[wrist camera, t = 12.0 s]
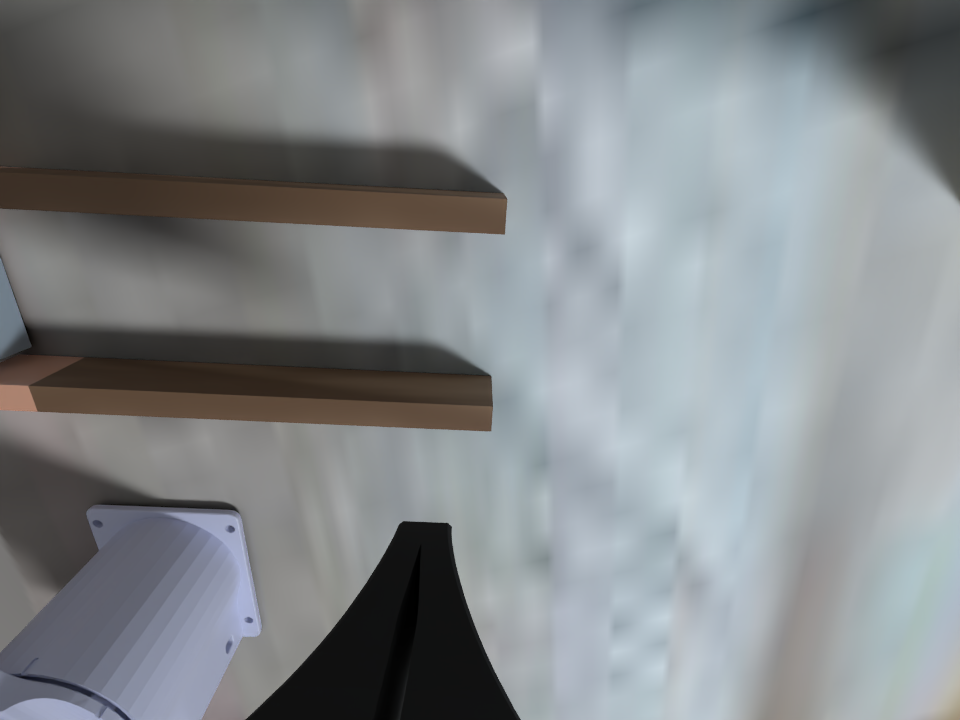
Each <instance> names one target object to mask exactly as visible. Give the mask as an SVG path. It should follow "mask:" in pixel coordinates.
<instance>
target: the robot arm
mask: <svg viewBox="0 0 960 720" xmlns="http://www.w3.org/2000/svg"><path fill="white" fill-rule="evenodd" d="M86 516H87V519H88V521H89V524H90V527H91V530H92V533H93V535H94V538H95V541H96V544H97V547H98V550H99V551H98V552H97V553H96V555H95V556H94V557H93V558H92V559H91V560H90V561H89V562H88V563H87V564H86V565H85V566H84V567H83V568H82V569H81V570H80V571H79V572H78V573H77V574H76V575H75V576H74V577H73V578H72V579H71V580H70V581H69V582H68V583H67V584H66V585H65V586H64V587H63V588H62V590H61V591H60V592H59V593H58V594H57V595H56V596H55V597H54V598H53V599H52V600H51V601H50V602H49V603H48V604H47V605H46V606H45V607H44V608H43V609H42V610H41V611H40V612H39V613H38V614H37V615H36V616H35V617H34V618H33V619H32V620H31V621H30V622H29V623H28V625H27V626H26V627H25V628H24V629H23V630H22V631H21V632H20V633H19V634H18V635H17V636H16V637H15V638H14V639H13V640H12V641H11V642H10V643H9V644H8V645H7V646H6V647H5V648H4V649H3V650H2V651H1V652H0V720H201V719H202V717H203V715H204V713H205V711H206V709H207V707H208V705H209V703H210V701H211V699H212V697H213V695H214V693H215V691H216V689H217V687H218V685H219V683H220V681H221V679H222V677H223V675H224V673H225V671H226V669H227V667H228V665H229V663H230V661H231V659H232V657H233V655H234V653H235V651H236V649H237V647H238V645H239V643H240V641H241V639H242V637H256V636H258V635H259V634H260V632H261V630H262V624H261V619H260V614H259V609H258V604H257V598H256V593H255V588H254V583H253V577H252V572H251V567H250V562H249V556H248V551H247V546H246V541H245V536H244V530H243V525H242V520H241V516H240V514H239V513H238V512H236V511H234V510H221V509H196V508H171V507H146V506H121V505H93V506H92V507H91V508H89V509H88V510H87V512H86ZM231 526H233V527H231ZM451 532H452V527H451V526H450V525H449V524H448V523H432V522H407V521H403V522H402V523H400V524H399V526H398V528H397V531H396V533H395V535H394V537H393V539H392V541H391V543H390V545H389V546H388V548H387V550H386V552H385V554H384V555H383V557H382V559H381V561H380V562H379V564H378V565H377V567H376V569H375V570H374V572H373V573H372V575H371V576H370V578H369V580H368V581H367V583H366V584H365V586H364V587H363V589H362V590H361V591H360V593H359V594H358V596H357V597H356V598H355V600H354V601H353V603H352V604H351V605H350V607H349V608H348V610H347V611H346V612H345V614H344V615H343V616H342V618H341V619H340V620H339V622H338V623H337V624H336V625H335V627H334V628H333V629H332V630H331V632H330V633H329V634H328V635H327V636H326V638H325V639H324V640H323V641H322V642H321V643H320V645H319V646H318V647H317V648H316V649H315V650H314V651H313V653H312V654H311V655H310V656H309V657H308V658H307V659H306V660H305V661H304V662H303V664H302V665H301V666H300V667H299V668H298V669H297V670H296V671H295V672H294V673H293V674H292V675H291V676H290V677H289V678H288V679H287V680H286V682H285V683H284V684H283V685H281V686H280V687H279V688H278V689H277V690H276V691H275V692H274V693H273V694H272V695H271V696H270V697H269V698H268V699H267V700H266V701H265V702H264V703H263V704H262V705H261V706H260V707H259V708H257V709H256V710H255V711H254V712H253V713H252V714H251V715H250V716H249V717H248V718H247V719H246V720H521V719H520V718H519V716H518V714H517V713H516V711H515V709H514V707H513V706H512V704H511V702H510V700H509V698H508V696H507V694H506V692H505V690H504V689H503V687H502V685H501V683H500V681H499V679H498V677H497V675H496V673H495V671H494V669H493V667H492V665H491V663H490V661H489V658H488V656H487V654H486V652H485V649H484V647H483V645H482V643H481V640H480V638H479V635H478V633H477V630H476V628H475V625H474V623H473V620H472V617H471V614H470V611H469V609H468V606H467V603H466V600H465V596H464V593H463V590H462V586H461V583H460V579H459V575H458V572H457V567H456V563H455V558H454V553H453V546H452V535H451Z"/></svg>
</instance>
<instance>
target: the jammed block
mask: <svg viewBox="0 0 960 720" xmlns="http://www.w3.org/2000/svg"><path fill="white" fill-rule="evenodd" d="M30 347H32V346H31V343H30V340H29V338H28V335H27V332H26V329H25V326H24V323H23V320H22V318H21V315H20V312H19V309H18V306H17V303H16V300H15V298H14V295H13V292H12V289H11V286H10V283H9V281H8V278H7V275H6V272H5V269H4V266H3V263H2V261H1V258H0V360H1V359H4V358H6V357H9V356H11V355H13V354H16V353H18V352H20V351H23V350H25V349H28V348H30Z"/></svg>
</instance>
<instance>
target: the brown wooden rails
mask: <svg viewBox="0 0 960 720" xmlns="http://www.w3.org/2000/svg"><path fill="white" fill-rule="evenodd" d="M0 208H3V209H22V210H42V211H61V212H80V213H100V214H119V215H138V216H158V217H177V218H197V219H216V220H235V221H255V222H274V223H293V224H313V225H332V226H351V227H371V228H390V229H410V230H429V231H448V232H468V233H487V234H505V223H506V209H507V198H506V196H505V195H504V193H491V192H472V191H454V190H435V189H416V188H397V187H379V186H360V185H341V184H322V183H304V182H285V181H266V180H247V179H228V178H210V177H191V176H172V175H153V174H135V173H116V172H97V171H78V170H60V169H41V168H22V167H3V166H0ZM0 410H13V411H36V412H59V413H82V414H105V415H128V416H151V417H173V418H196V419H219V420H242V421H265V422H288V423H311V424H334V425H357V426H380V427H403V428H426V429H449V430H472V431H491V425H492V411H493V401H492V381H491V376H483V375H461V374H439V373H417V372H395V371H374V370H352V369H330V368H308V367H286V366H265V365H243V364H221V363H199V362H177V361H156V360H134V359H112V358H90V357H68V356H46V355H25V354H19V355H17V356H14V357H12V358H10V359H7V360H5V361H3V362H0Z"/></svg>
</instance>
